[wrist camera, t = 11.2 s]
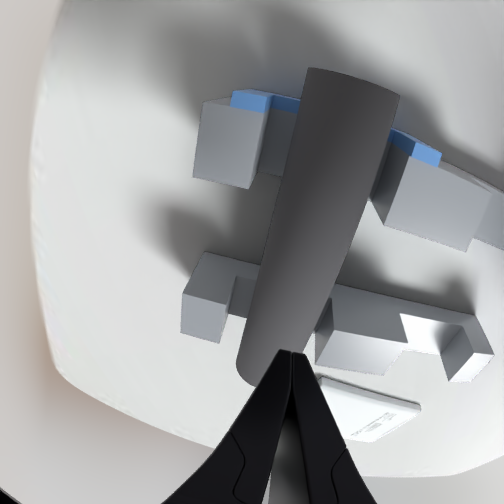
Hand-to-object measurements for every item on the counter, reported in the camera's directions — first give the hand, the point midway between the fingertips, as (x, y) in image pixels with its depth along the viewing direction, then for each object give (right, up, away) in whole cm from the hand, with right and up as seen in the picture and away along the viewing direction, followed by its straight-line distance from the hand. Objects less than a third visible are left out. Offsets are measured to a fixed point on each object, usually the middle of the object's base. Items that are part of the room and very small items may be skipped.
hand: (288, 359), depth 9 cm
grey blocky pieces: (+6, +3, +7) cm, 10 cm away
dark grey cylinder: (+1, +4, +6) cm, 7 cm away
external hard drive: (+9, -12, +17) cm, 23 cm away
